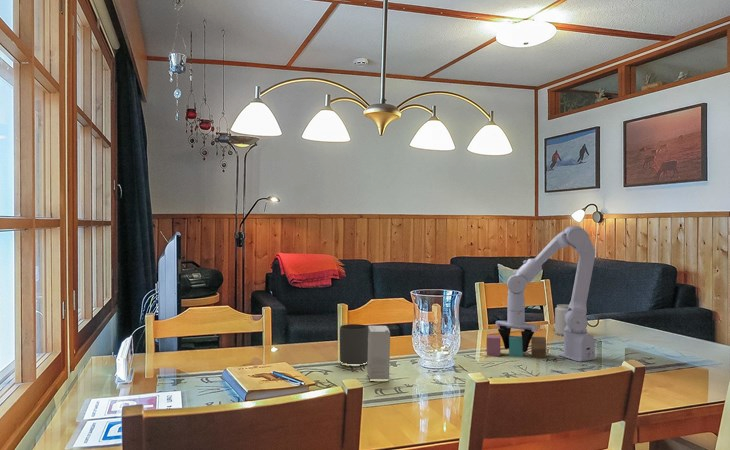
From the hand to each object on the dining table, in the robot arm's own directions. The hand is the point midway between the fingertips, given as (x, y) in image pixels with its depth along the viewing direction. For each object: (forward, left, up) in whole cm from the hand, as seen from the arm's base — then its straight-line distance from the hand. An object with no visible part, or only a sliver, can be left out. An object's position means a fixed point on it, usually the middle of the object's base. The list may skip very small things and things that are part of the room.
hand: (516, 350), depth 192 cm
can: (+18, -41, -2) cm, 45 cm away
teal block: (0, 0, -2) cm, 2 cm away
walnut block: (-4, -6, -2) cm, 8 cm away
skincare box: (-6, +55, -2) cm, 56 cm away
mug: (+15, +54, -2) cm, 57 cm away
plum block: (+4, +6, -2) cm, 8 cm away
